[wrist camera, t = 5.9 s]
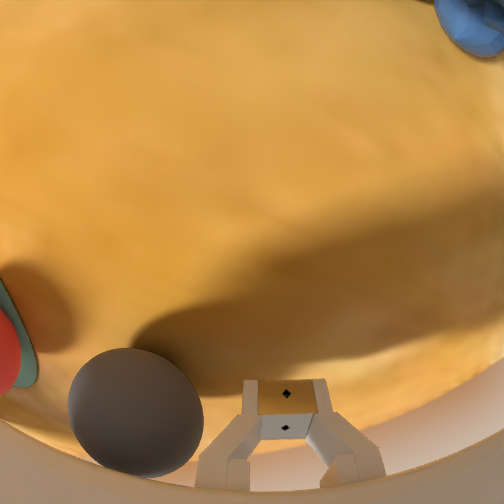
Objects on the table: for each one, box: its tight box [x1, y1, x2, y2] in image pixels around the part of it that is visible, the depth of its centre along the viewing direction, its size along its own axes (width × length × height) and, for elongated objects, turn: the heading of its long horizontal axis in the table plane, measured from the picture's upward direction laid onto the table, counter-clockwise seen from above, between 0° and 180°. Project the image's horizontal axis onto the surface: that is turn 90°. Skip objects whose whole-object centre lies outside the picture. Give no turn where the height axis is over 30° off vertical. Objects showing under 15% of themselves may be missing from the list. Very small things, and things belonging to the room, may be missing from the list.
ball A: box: [68, 348, 204, 478], centre depth 9 cm, size 6×6×6 cm
